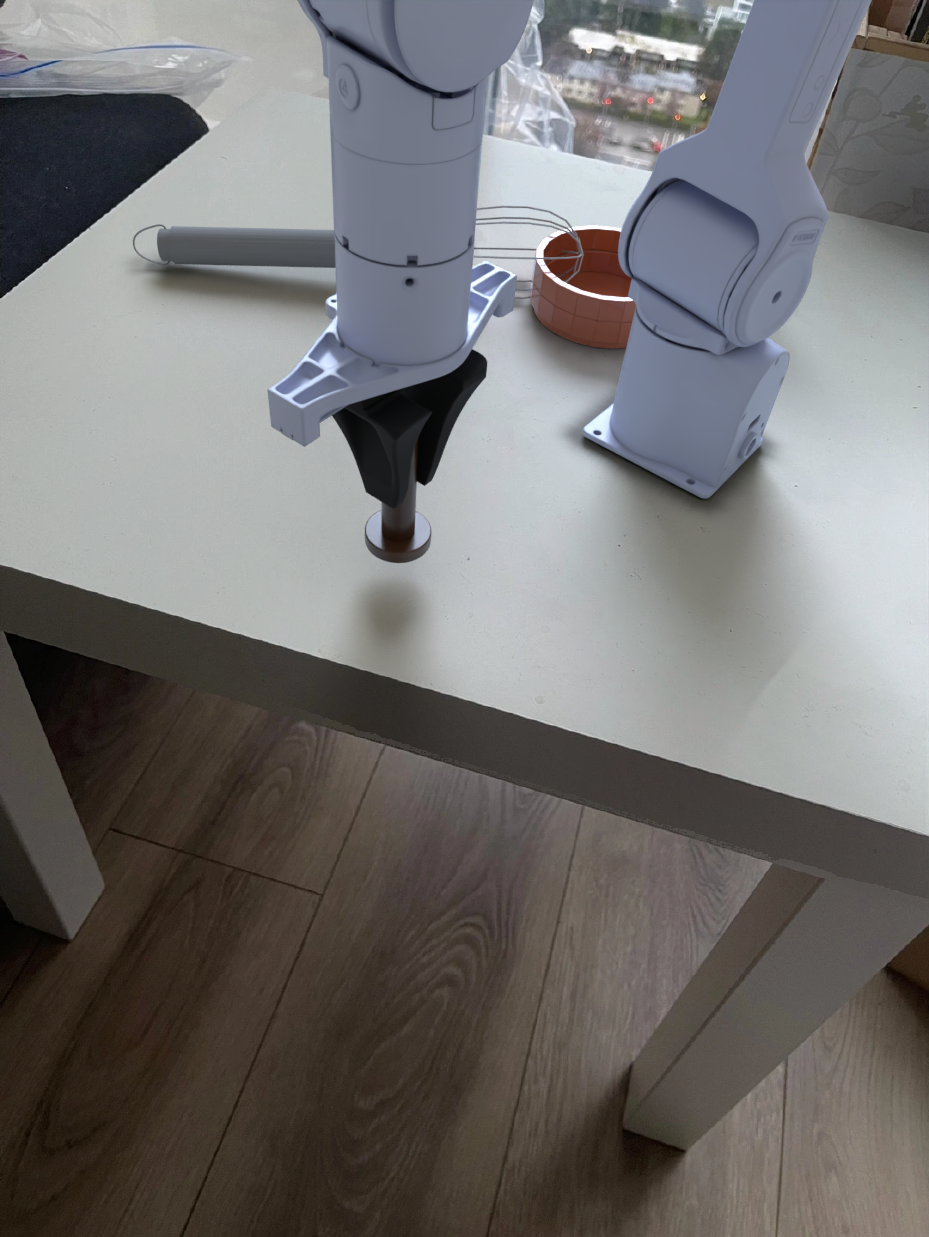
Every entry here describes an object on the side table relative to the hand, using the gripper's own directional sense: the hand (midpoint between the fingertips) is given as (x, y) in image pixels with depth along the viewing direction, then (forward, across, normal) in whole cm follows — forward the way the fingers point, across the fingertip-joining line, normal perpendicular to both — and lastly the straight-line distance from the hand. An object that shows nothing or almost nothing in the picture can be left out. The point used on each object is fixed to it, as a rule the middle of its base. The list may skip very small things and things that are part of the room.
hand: (399, 485), depth 49 cm
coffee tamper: (+4, 0, 0) cm, 4 cm away
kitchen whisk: (+6, -21, -22) cm, 31 cm away
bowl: (+6, -31, -6) cm, 32 cm away
